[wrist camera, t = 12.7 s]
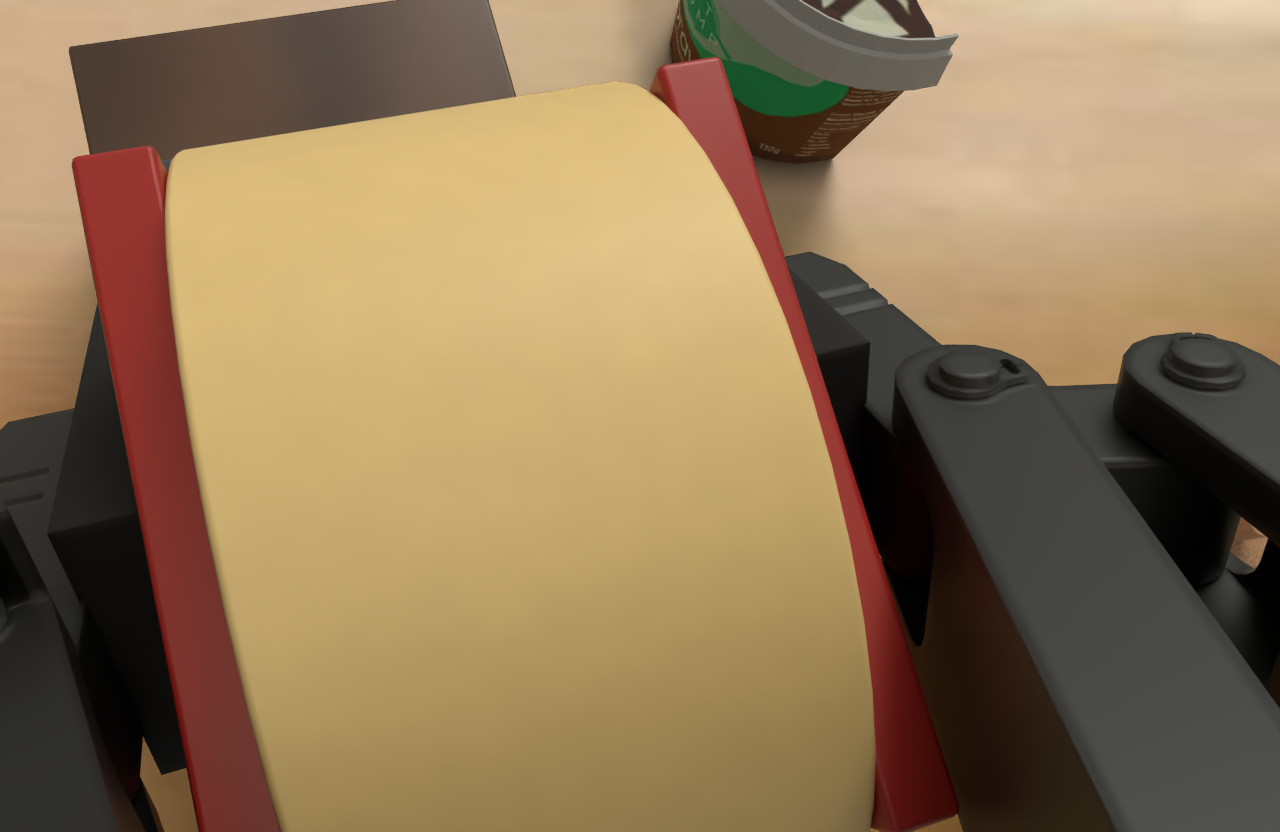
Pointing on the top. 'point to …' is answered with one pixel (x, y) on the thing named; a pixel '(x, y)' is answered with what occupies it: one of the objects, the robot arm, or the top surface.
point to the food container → (811, 65)
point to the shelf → (288, 74)
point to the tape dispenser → (500, 479)
